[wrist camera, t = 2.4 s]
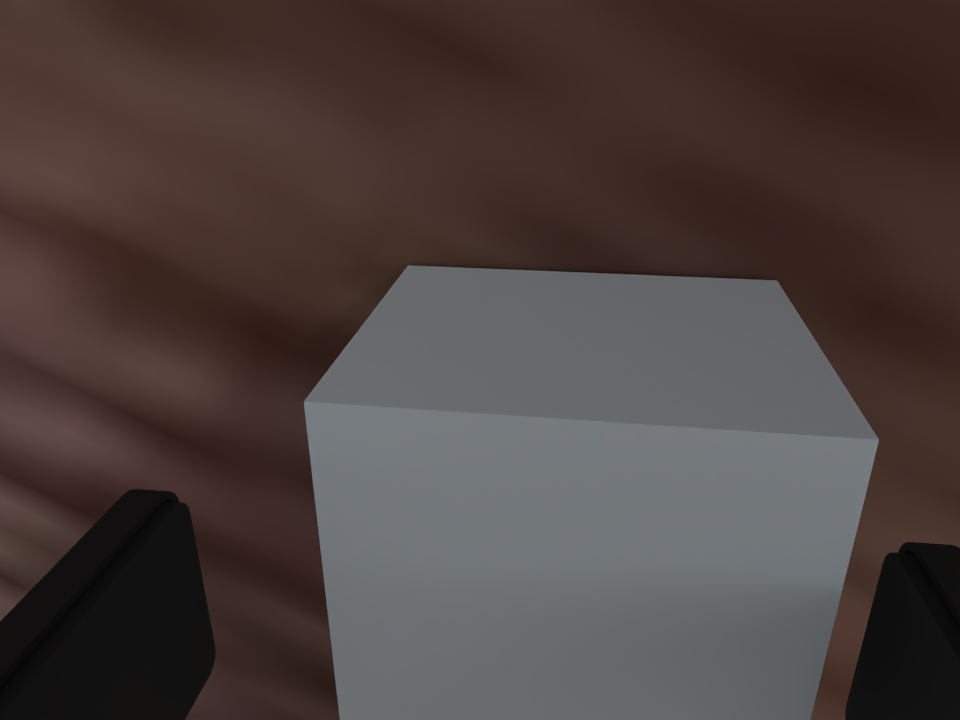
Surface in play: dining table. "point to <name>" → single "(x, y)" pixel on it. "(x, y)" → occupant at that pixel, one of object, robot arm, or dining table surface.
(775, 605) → the grey box
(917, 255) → the dining table surface
